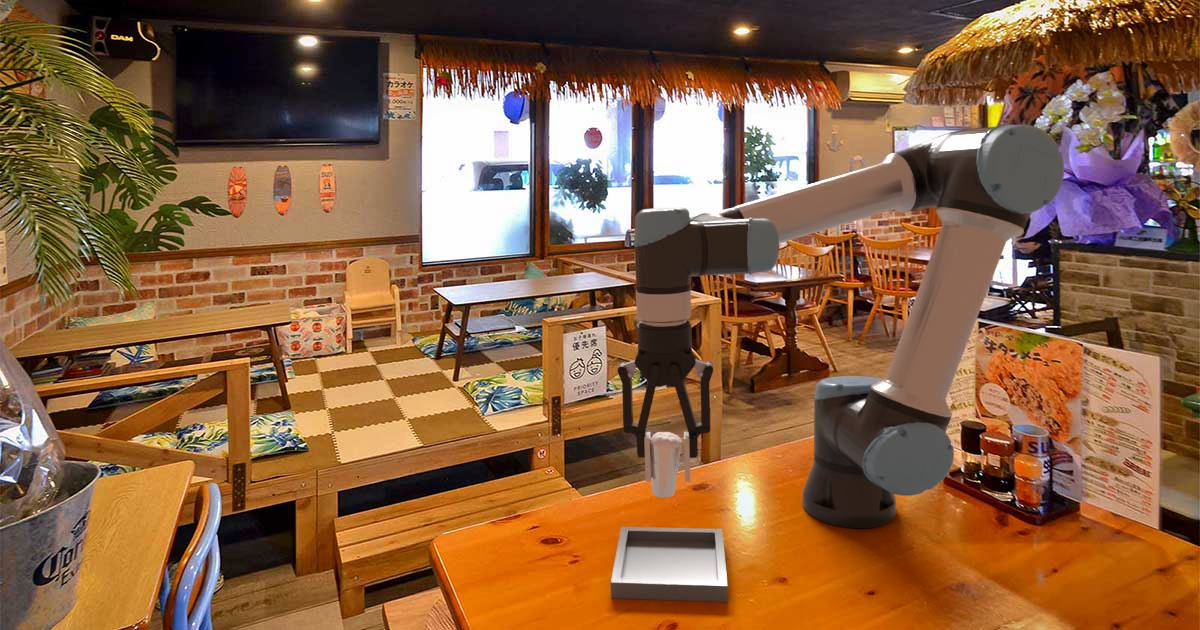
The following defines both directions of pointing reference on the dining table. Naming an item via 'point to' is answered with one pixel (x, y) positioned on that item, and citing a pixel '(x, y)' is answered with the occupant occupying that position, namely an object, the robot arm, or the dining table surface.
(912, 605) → the dining table surface
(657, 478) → the milkshake
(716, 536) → the slate tray
